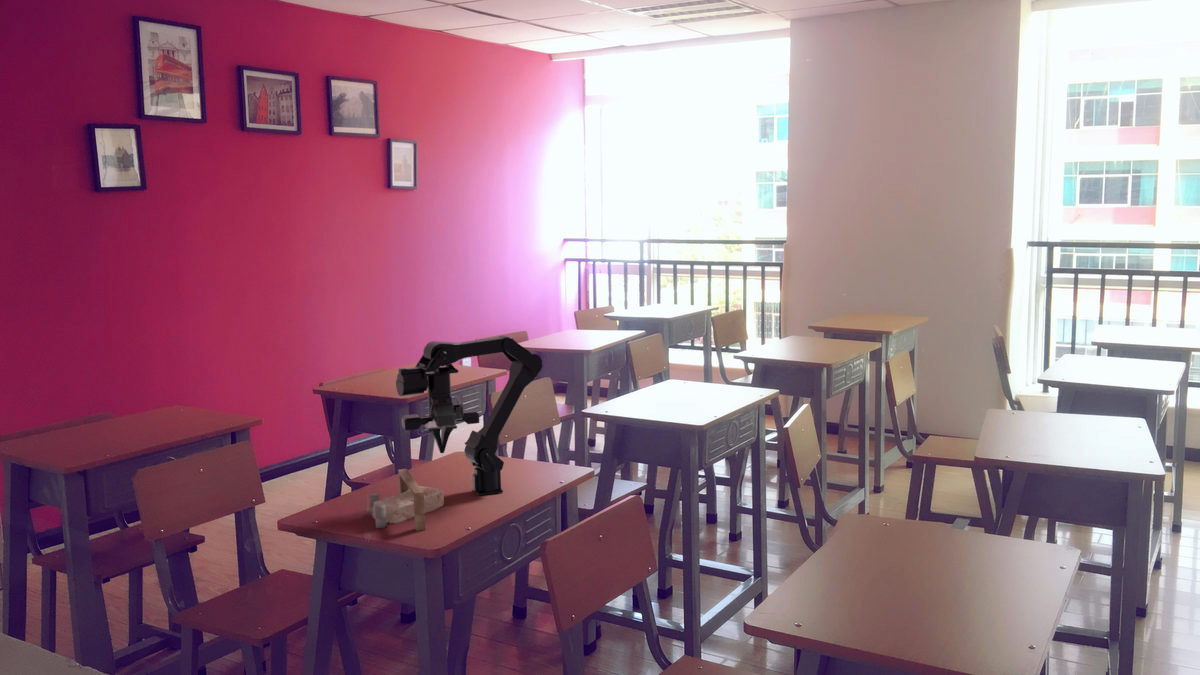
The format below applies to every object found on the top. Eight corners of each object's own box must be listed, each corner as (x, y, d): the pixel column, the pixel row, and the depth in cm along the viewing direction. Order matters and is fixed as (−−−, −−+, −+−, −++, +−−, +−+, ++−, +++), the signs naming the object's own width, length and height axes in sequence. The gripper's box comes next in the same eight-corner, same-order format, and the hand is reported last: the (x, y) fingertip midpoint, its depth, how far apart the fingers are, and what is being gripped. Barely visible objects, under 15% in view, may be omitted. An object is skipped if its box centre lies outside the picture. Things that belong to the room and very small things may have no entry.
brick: (394, 525, 218) (393, 506, 217) (370, 519, 222) (369, 500, 222) (445, 508, 231) (445, 489, 230) (422, 502, 236) (421, 484, 235)
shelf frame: (408, 503, 234) (406, 468, 233) (425, 529, 213) (423, 492, 212) (366, 508, 230) (364, 473, 229) (379, 536, 209) (378, 497, 208)
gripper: (407, 400, 223) (410, 464, 225) (483, 393, 230) (485, 455, 231) (399, 393, 233) (402, 454, 235) (473, 387, 240) (475, 446, 242)
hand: (441, 452), depth 235 cm, fingers closed
